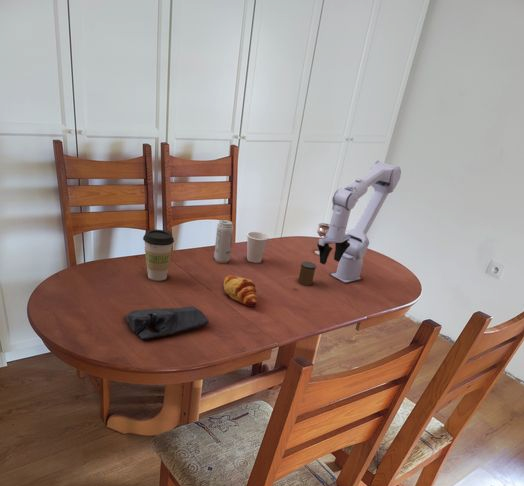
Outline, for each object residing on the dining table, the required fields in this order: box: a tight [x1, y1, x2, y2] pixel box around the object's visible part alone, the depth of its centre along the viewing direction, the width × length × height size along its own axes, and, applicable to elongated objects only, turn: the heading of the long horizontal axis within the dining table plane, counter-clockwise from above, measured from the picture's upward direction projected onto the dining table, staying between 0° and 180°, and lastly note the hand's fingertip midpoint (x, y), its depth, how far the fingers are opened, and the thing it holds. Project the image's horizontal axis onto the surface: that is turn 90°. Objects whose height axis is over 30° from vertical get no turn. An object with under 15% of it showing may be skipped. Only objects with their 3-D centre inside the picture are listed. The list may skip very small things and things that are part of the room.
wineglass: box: [314, 222, 330, 256], centre depth 202 cm, size 7×7×12 cm
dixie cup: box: [246, 231, 269, 264], centre depth 184 cm, size 8×8×10 cm
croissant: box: [223, 274, 258, 307], centre depth 156 cm, size 21×10×8 cm, turn 30°
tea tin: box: [297, 261, 317, 286], centre depth 174 cm, size 6×6×7 cm
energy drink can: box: [213, 219, 234, 264], centre depth 177 cm, size 6×6×15 cm
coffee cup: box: [142, 229, 175, 282], centre depth 157 cm, size 10×10×15 cm
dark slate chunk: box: [125, 305, 209, 341], centre depth 134 cm, size 15×22×5 cm
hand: (329, 262), depth 171 cm, fingers open, 7 cm apart
